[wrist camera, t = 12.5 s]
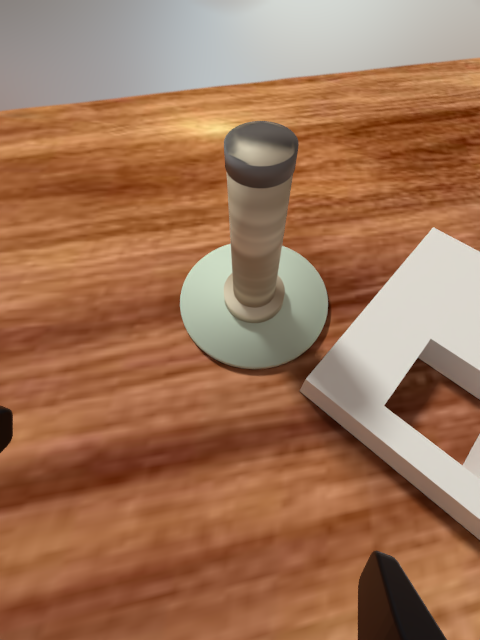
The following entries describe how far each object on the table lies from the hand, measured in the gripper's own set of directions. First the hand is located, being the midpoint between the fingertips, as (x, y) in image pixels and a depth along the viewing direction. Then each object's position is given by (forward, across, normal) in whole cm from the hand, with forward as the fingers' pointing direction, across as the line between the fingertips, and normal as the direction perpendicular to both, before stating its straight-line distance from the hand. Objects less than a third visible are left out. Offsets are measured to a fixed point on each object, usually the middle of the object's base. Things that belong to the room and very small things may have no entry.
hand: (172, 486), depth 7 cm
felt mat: (+18, +2, 0) cm, 18 cm away
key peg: (+18, +2, -1) cm, 18 cm away
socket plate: (+17, -13, +1) cm, 21 cm away
